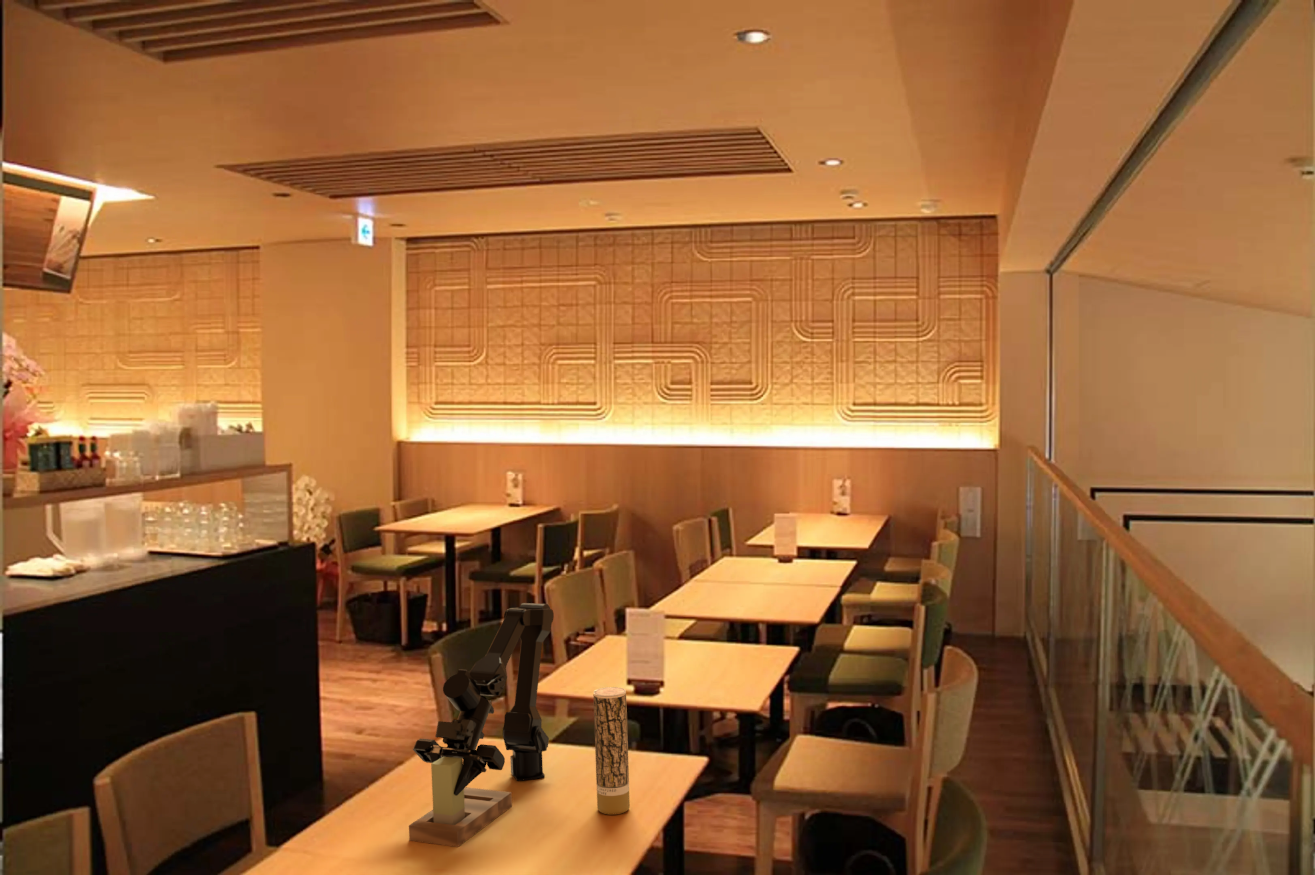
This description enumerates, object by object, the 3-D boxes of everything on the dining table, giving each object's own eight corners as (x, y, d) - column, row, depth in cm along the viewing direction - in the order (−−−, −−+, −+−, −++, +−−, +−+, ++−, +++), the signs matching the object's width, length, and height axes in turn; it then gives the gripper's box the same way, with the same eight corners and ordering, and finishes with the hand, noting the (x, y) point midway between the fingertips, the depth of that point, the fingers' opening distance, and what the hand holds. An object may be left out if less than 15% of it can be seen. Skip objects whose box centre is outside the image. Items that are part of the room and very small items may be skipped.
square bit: (445, 819, 226) (443, 756, 226) (465, 822, 225) (462, 758, 224) (433, 828, 222) (431, 763, 222) (453, 830, 221) (450, 765, 220)
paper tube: (625, 816, 229) (621, 696, 228) (593, 815, 230) (589, 695, 229) (633, 804, 235) (629, 687, 234) (601, 803, 237) (598, 686, 236)
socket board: (466, 801, 240) (466, 787, 240) (512, 806, 237) (511, 792, 236) (409, 840, 220) (408, 825, 220) (457, 847, 216) (457, 831, 216)
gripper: (415, 700, 230) (387, 770, 220) (495, 706, 223) (469, 779, 213) (438, 726, 237) (411, 795, 227) (515, 733, 231) (491, 805, 221)
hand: (444, 793), depth 222 cm, fingers closed on square bit, 4 cm apart
